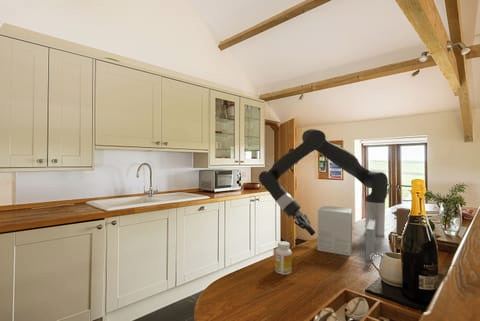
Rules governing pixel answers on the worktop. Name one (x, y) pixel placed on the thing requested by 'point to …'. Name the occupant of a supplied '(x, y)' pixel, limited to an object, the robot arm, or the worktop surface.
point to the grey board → (370, 238)
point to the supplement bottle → (283, 258)
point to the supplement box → (335, 230)
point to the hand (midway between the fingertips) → (313, 234)
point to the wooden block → (401, 219)
